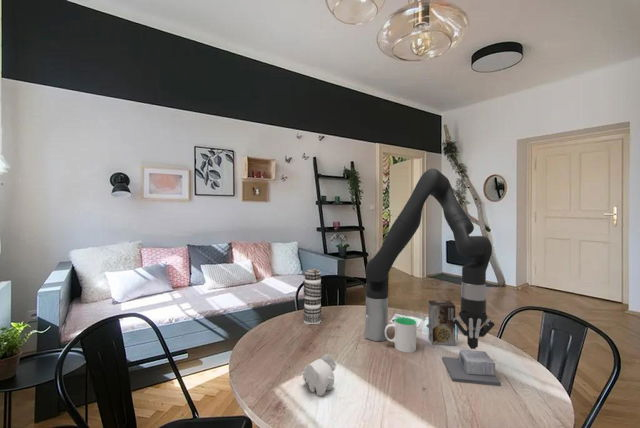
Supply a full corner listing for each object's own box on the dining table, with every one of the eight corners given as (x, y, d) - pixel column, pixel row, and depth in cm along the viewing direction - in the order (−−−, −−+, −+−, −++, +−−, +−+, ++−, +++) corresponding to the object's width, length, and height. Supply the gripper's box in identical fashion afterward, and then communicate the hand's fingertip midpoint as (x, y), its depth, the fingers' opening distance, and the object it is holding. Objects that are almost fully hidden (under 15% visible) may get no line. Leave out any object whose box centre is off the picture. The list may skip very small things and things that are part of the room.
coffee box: (450, 339, 125) (450, 300, 125) (455, 346, 119) (456, 305, 119) (427, 338, 126) (428, 299, 126) (431, 344, 120) (432, 304, 120)
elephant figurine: (312, 374, 98) (313, 347, 98) (343, 388, 91) (343, 359, 91) (292, 387, 91) (292, 358, 91) (323, 404, 83) (323, 372, 83)
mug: (386, 351, 114) (386, 324, 114) (383, 342, 122) (383, 316, 122) (418, 352, 113) (418, 325, 113) (413, 343, 121) (413, 317, 121)
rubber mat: (452, 381, 95) (452, 378, 95) (442, 359, 108) (442, 356, 108) (500, 385, 92) (500, 382, 92) (483, 362, 106) (483, 360, 106)
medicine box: (466, 374, 97) (495, 376, 96) (466, 360, 97) (495, 362, 96) (458, 361, 105) (485, 364, 103) (459, 349, 105) (485, 351, 103)
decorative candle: (299, 319, 146) (300, 268, 146) (317, 316, 150) (317, 266, 150) (307, 326, 138) (307, 271, 138) (325, 323, 142) (325, 270, 141)
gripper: (455, 298, 97) (454, 351, 97) (499, 300, 95) (498, 355, 95) (449, 292, 105) (448, 341, 105) (490, 294, 102) (489, 344, 103)
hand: (472, 347), depth 100 cm, fingers closed
